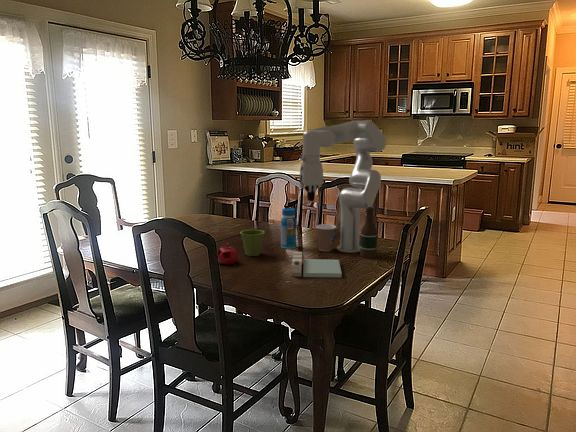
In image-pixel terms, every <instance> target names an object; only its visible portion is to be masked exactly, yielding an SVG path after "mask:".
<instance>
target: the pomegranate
mask: <svg viewBox="0 0 576 432" xmlns="http://www.w3.org/2000/svg"><path fill="white" fill-rule="evenodd" d="M233 247H236V245H235V246H234V245H232V246H230V244H229V243H226V245H223V246H221V247H219V249H218V250H217V252H216V254H217V253H218V259H219V262H218V263H219V264H221V265H222V264H223V265H227V266H229V265H234V264H235V263H237V262H238V260H239V253H238V251H237V250H236V249H235V248H233ZM218 259H217V260H218Z"/></svg>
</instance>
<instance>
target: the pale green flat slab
mask: <svg viewBox="0 0 576 432" xmlns="http://www.w3.org/2000/svg"><path fill="white" fill-rule="evenodd" d="M302 270H303V272H302V276H303V278H340V279H342V277H343V276H342V275H343V273H342V269H341V264H340V260H339V259H325V258H324V259H313V258H312V259H310V258H307V259H305V258H303V264H302Z"/></svg>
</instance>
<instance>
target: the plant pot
mask: <svg viewBox="0 0 576 432" xmlns="http://www.w3.org/2000/svg"><path fill="white" fill-rule="evenodd" d="M239 233H240V235H241V239H242V243H243V248H244V254H245V255H246V256H247V257H257V256H260V255H261V253H262V252H261V251H262V246H263V245H262V244H263V238H264V234H265V231H264V230H261V229H245V230H241V231H240V232H239Z"/></svg>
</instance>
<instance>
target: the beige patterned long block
mask: <svg viewBox="0 0 576 432" xmlns="http://www.w3.org/2000/svg"><path fill="white" fill-rule="evenodd" d="M302 270H303V251H293V252H292V260H291V277H302V274H303V272H302Z"/></svg>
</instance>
